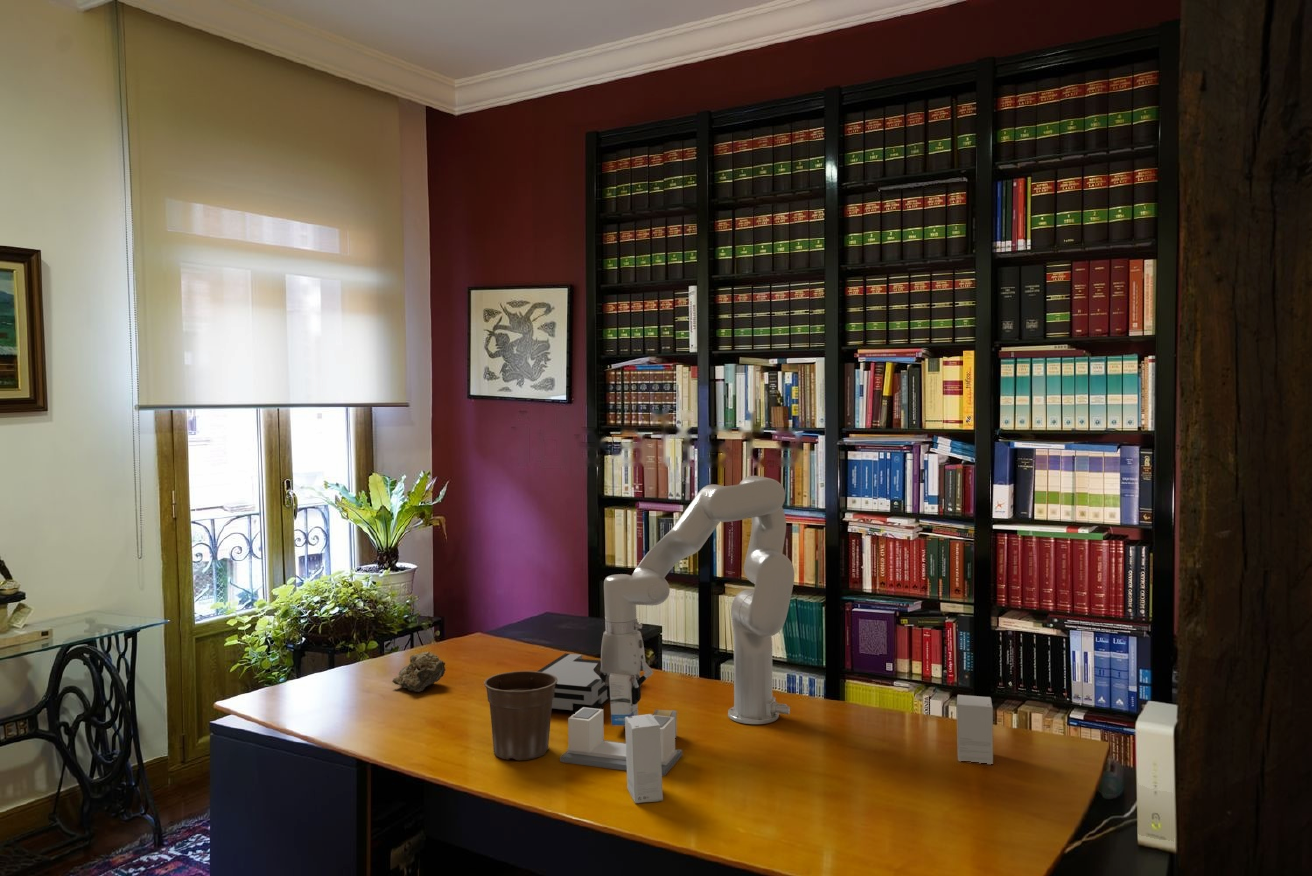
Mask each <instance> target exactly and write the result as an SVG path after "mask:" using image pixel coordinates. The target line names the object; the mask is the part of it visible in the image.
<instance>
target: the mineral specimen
mask: <svg viewBox="0 0 1312 876" xmlns="http://www.w3.org/2000/svg"><path fill="white" fill-rule="evenodd" d="M409 662H410V663H408V664H407V665H406V666H403V668H402V669H401V670H399V672H398V676H395V677H394V678H393V679H392V681H391V682H392V683H394V684H395V685H397V686H398V685H399V686H401V687H402V688H405V689H407V691H411V692H414V693H416V692H418V693H419V692H422V691H424V690H425V689H426V687H428V686H431V685H433V684H435V683H436V682H439V681H440V680H441V678H442V677H444V675H445V672H446V662H445V661H444V660H442V659H440V657H439V656H438V654H434V653H433V652H430V651H426V652H420V653H416V654H413V655H411V656H410V657H409Z"/></svg>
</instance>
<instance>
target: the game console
mask: <svg viewBox="0 0 1312 876" xmlns="http://www.w3.org/2000/svg"><path fill="white" fill-rule="evenodd" d="M600 660H601V659H600ZM600 660H599V659H587V658H583V654H577V653H564V654H562V655H560V656H559V657H557V658H556V659H554V660H553V661H552V662H550V663H548V664H546V665H544V666H543V667H542V668H541V669H539V670H537V672H544V673H549V674H552V675H554V676H556V677H557V679H558V681H557V684H556V685H555V692H554V698H553V700H552V709H556V710H567V711H569V713H570V714H574V713H576V712H577V711H579V710H580V709H581V708H583V707H586V708H595V709H601V708H602V707H604V706H605V705H606V704H607V703H609V698H608V697H607V686H606V685H605V683H604V682H603V680H602V679H601V678H600V677H599V676H598V675H597V674H596V673H595V672H594V670H593V669H594V668H595V666H596V665H597V664H598V663H599V661H600ZM605 703H606V704H605ZM600 707H601V708H600Z"/></svg>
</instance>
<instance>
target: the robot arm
mask: <svg viewBox="0 0 1312 876" xmlns="http://www.w3.org/2000/svg"><path fill="white" fill-rule="evenodd" d="M785 500H786V491H785V489H784V486H783V485H782V484H781V483H780V482H779V481H778V480H776V479H773V478H770V477H766V476H759V475H750V476H747V477H744V478H743V479H741V481H740V482H739V484H734V485H725V486H724V485H720V484H707V485H705V486H704V487H702V488H701V489H700V490H699V491H698V492H697V494H696V495H695V497H694V498H693V499H692V501H691V502H689V503H690V504H689V505H688V506H687V507H686V509H685V510H684V512H683V513H682V514H681V516H680V517H679V518H678V520H677V521H676V522H675V524H673V527H672V528H671V529H670V530H669V531H668V532H667V533H666V534H665V535H664V536H663V537H662V538H661V539H660V540H659V541H657V542H656V543H655V544H654V545H653V546H652V547H651V549H649V551H647V553H646V554H645V556H644V557H643V558H642V560H641V561H640V562H639V563H638V564H637V566H636V567H635V569H634V571H632V572H633V573H632V574H631V575H630V574H625V573H624V574H623V573H620V574H619V573H618V574H611V575H608V576H606V577H605V579H604V581H603V597H604V601H603V602H604V619H605V620H604V622H605V631H603V635H602V640H601V647H600V648H601V649H600V661H599V663H598V664H597V665H596V666H595V668H594V669H593V670H594V672H595V673H596V674H597V675H598V676H599V677H600V678H601V679H602V680H603V682H604V683H605V685H606V686H607V697H608V698H609V701H608V703H610V684H609V677H610V674H611V673H615V674H624V675H630V676H631V680H632V682H633V688H632V704H637V705H638V703H639V702H640V700H641V698H642V691H641V689H642V688H641V685H642V684H643V683H644V682H645V681H646V680H648V678H650V677H651V676H652V675H653V674H654V671H653V670H652V667H650V665H648V663H647V662H646V656H645V655H646V654H645V647H644V641H643V640H644V639H643V637H642V636H643V635H642V632H641V631H640V630H639V629H641V630H642V628H643V623H642V622H638V621H639V620H638V618H637V606H658V605H661V604H663V603H664V602H666V600H667V599H668V598H669V595H670V584H669V582H668V581H667V580H666V576H667V575H668V574H669V573H670V571H671V570H672V568H674V567H675V566H676V565H677V564H678V563H679V562H680V561H682V560H684V559H685V558H688V557H691V556H692V555H695V554H696V553H697V552H699V551H700V550H701V549H702V548H703V546H704V545H705V543H706V542H707V540H708V538H709V537H711V535H712V533H714V531H715V530H716V528H717V527H718V525H719V524H720V522H721V523H728V522H729V523H730V522H735V521H742V520H746V519H750V520H751V531H750V537H749V543H748V547H747V550H746V551H747V552H746V555H745V558H744V559H745V560H744V564H743V572H744V576H745V578H746V579H747V580H748V581H749V582H751V583H752V584H754V588H747V589H743V590H741V591H740V592H738V593H737V594H736V595H735V597H734V598H733V600H732V602H731V606H730V607H731V608H730V617H731V625H732V633H733V696H734V697H733V702H734V703H733V706H732V707H730V708H729V709H728V710H727V717H728V718H729V719H730V720H731V721H734V722H736V723H739V724H740V723H741V724H746V725H764V724H771V723H774V722H775V721H777V720H778V719H779V717H780V716H779V715H780V714H781V715H790V712H791V711H790V710H791V707H790V706H788V705H787V703H778V702H777V701H776V696H773V639H772V637H773V636H775V635H777V634H778V633H780V631H781V630H782V629H783V627H784V625H785V624H786V623H785V622H786V620H787V616H788V612H789V607H790V604H791V603H790V602H791V598H792V593H793V589H794V588H793V587H794V584H795V568H794V566H793V563H792V561H791V560H790V559H789V557H788V556H786V555H785V554H784V545H785V538H786V533H787V519H786V515H785V511H784V508H783V505H784V504H785ZM641 672H644V673H643V675H641ZM610 704H611V703H610Z"/></svg>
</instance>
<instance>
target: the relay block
mask: <svg viewBox="0 0 1312 876" xmlns="http://www.w3.org/2000/svg"><path fill="white" fill-rule="evenodd" d="M653 715H658V716H668V717H675V738H677V736H678V735H677V734H678V733H677V730H678V729H677V728H678V725H677V723H678V722H677V716H678V715H677V710H673V709H671V710H670V709H654V712H653V714H652V716H653Z"/></svg>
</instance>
